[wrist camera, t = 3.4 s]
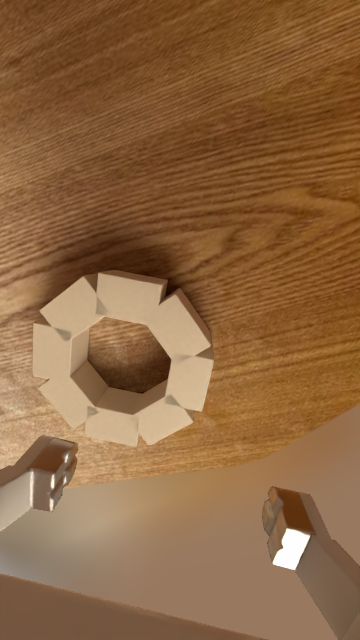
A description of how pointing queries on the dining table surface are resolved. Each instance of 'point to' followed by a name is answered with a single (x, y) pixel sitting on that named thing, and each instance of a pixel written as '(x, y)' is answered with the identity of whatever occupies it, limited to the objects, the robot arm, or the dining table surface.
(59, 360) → the ring
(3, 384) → the dining table surface
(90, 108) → the dining table surface
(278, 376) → the dining table surface
